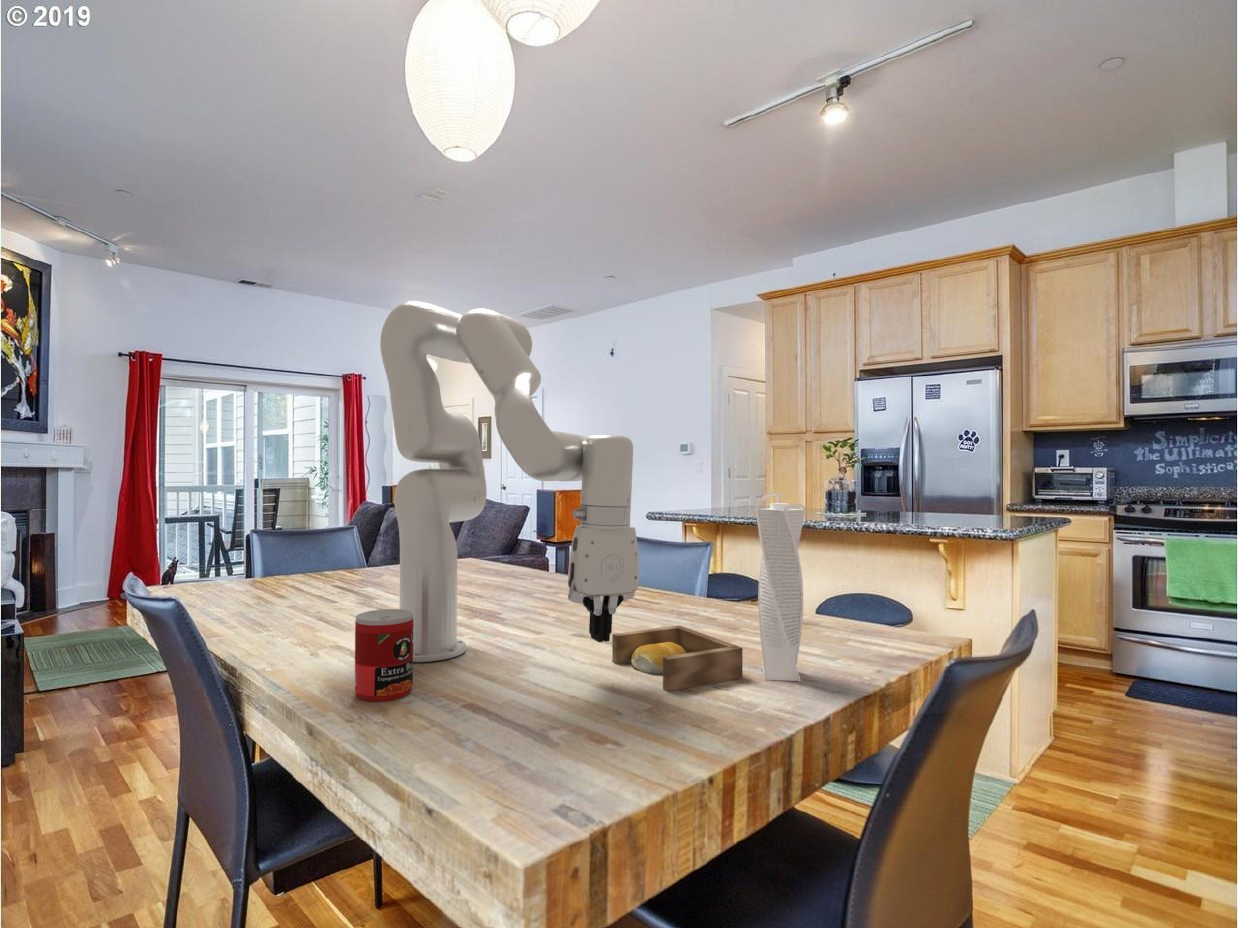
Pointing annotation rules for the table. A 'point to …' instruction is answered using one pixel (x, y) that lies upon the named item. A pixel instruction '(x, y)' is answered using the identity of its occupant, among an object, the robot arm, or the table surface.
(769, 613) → the skyscraper
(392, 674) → the canned food
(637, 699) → the table surface
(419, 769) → the table surface
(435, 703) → the table surface
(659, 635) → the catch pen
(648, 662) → the bread roll
